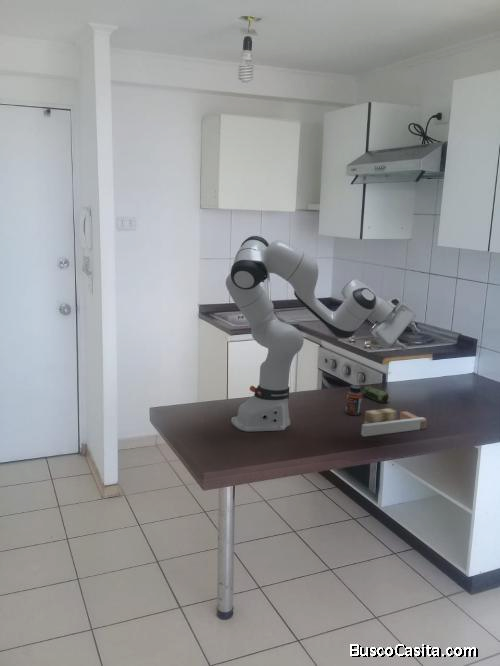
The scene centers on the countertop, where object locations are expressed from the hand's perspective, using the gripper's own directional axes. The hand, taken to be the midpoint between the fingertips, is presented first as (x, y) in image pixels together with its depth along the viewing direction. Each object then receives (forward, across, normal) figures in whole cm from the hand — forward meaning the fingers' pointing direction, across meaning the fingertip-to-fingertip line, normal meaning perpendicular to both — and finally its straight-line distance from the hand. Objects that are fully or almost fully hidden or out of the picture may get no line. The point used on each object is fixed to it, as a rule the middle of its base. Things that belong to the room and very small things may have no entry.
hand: (412, 341), depth 211 cm
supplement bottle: (+4, -6, +48) cm, 48 cm away
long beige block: (+14, -12, +34) cm, 39 cm away
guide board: (+16, -9, +35) cm, 39 cm away
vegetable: (+9, +16, +59) cm, 62 cm away
